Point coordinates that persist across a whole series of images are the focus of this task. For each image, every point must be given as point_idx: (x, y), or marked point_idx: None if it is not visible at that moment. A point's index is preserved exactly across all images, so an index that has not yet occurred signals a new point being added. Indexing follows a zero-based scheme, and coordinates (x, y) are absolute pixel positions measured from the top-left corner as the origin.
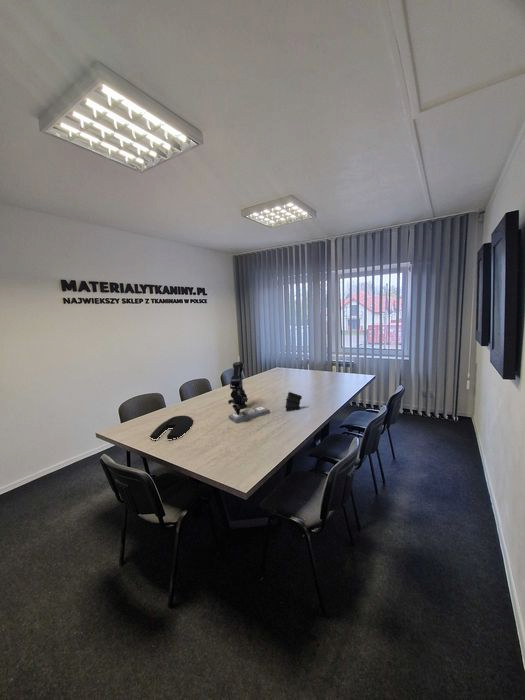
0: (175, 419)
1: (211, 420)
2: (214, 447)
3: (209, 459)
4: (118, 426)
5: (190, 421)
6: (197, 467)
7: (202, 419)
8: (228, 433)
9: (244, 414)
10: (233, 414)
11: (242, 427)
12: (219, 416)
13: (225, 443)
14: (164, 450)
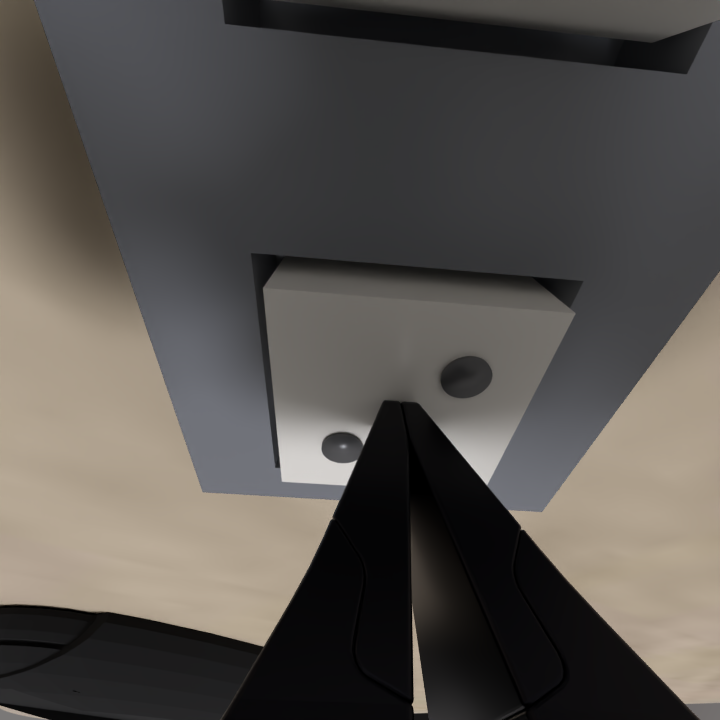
0: (75, 709)
1: (148, 548)
2: (646, 656)
3: (700, 682)
4: (12, 710)
5: (151, 669)
6: (681, 699)
7: (66, 574)
8: (610, 580)
9: (500, 193)
10: (282, 469)
11: (704, 462)
12: (21, 457)
13: (696, 630)
14: (422, 703)
